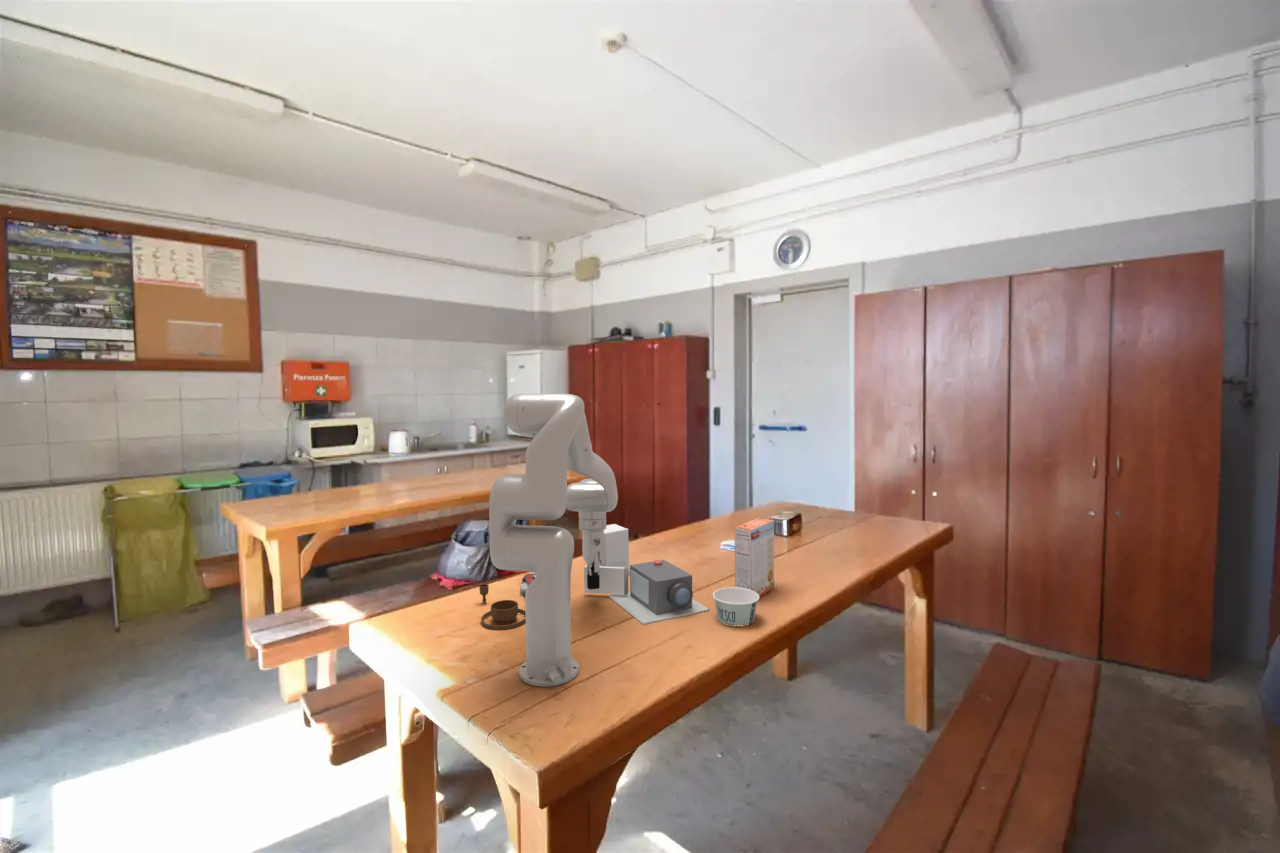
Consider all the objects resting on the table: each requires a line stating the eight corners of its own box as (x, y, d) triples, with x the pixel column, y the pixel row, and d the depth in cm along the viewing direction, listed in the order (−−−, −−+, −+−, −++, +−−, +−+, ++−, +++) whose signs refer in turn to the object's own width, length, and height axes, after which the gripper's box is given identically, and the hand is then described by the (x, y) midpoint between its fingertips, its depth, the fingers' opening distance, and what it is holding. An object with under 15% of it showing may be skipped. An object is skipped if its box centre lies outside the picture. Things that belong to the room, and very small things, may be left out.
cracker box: (756, 584, 180) (757, 516, 179) (775, 588, 176) (775, 519, 175) (733, 597, 169) (733, 525, 168) (752, 602, 166) (752, 529, 164)
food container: (765, 616, 156) (765, 591, 156) (749, 632, 146) (749, 607, 145) (723, 607, 162) (723, 584, 162) (705, 623, 152) (705, 598, 152)
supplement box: (615, 567, 198) (615, 523, 197) (629, 574, 190) (629, 528, 189) (591, 572, 193) (590, 527, 192) (605, 579, 185) (604, 532, 184)
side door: (584, 592, 171) (583, 567, 171) (585, 591, 173) (585, 565, 172) (627, 594, 169) (627, 568, 169) (628, 593, 171) (628, 567, 170)
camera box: (709, 610, 160) (709, 573, 159) (643, 624, 151) (642, 585, 150) (669, 585, 180) (669, 552, 179) (608, 596, 171) (608, 562, 170)
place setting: (465, 634, 147) (464, 611, 147) (478, 604, 167) (477, 584, 167) (536, 630, 149) (536, 607, 149) (540, 601, 169) (540, 581, 169)
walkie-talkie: (515, 583, 183) (526, 606, 165) (515, 569, 183) (525, 591, 164) (544, 580, 186) (557, 602, 168) (543, 566, 186) (557, 587, 167)
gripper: (612, 528, 158) (612, 595, 159) (599, 516, 172) (600, 578, 174) (584, 530, 156) (585, 598, 157) (574, 518, 170) (575, 581, 172)
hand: (593, 588), depth 165 cm, fingers closed
